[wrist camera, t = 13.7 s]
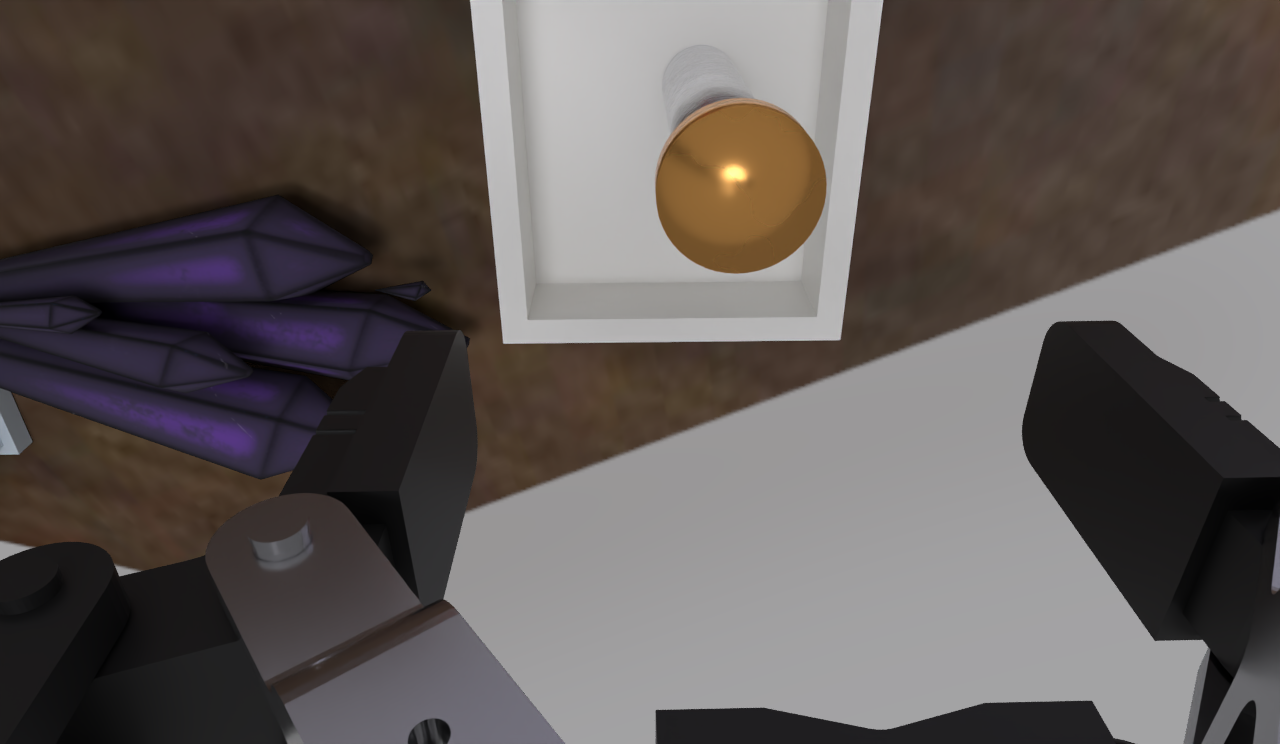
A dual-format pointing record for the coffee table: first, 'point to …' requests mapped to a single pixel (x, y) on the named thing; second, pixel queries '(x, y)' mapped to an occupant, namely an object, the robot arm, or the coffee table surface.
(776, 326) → the tray
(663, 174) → the lock pin
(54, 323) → the crystal
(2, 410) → the tensioner bracket
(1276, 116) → the coffee table surface
